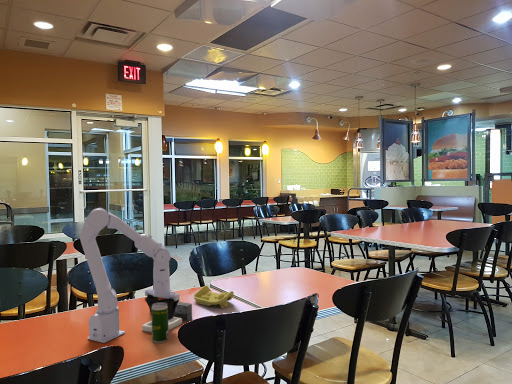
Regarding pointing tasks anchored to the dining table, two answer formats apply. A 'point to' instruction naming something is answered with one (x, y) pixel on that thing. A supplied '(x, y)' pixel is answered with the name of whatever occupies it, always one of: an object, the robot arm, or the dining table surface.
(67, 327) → the dining table surface
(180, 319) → the tray
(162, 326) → the beer can
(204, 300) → the plastic component
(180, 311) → the block
